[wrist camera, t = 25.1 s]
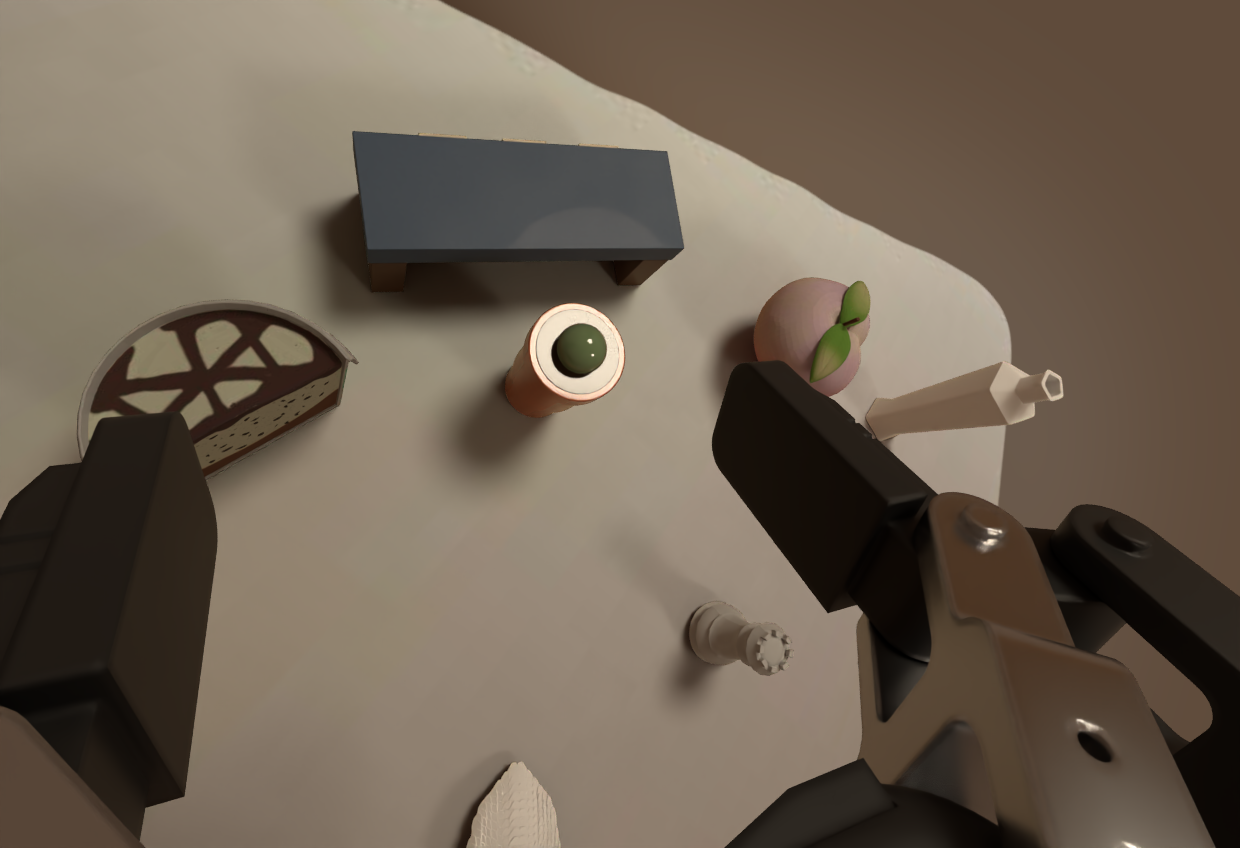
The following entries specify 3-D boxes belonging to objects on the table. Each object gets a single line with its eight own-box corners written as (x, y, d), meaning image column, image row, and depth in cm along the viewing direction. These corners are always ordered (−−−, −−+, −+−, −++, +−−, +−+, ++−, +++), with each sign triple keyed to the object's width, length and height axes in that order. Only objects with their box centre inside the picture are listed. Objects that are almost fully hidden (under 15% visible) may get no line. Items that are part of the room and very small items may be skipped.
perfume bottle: (890, 456, 55) (1063, 434, 41) (857, 424, 54) (1023, 390, 40) (911, 417, 56) (1084, 384, 43) (879, 386, 56) (1046, 341, 42)
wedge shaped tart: (305, 310, 39) (283, 245, 30) (362, 392, 39) (358, 352, 30) (94, 413, 34) (-10, 374, 25) (161, 504, 35) (84, 498, 26)
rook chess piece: (677, 616, 45) (736, 634, 38) (725, 590, 47) (790, 602, 40) (699, 673, 45) (762, 703, 38) (746, 645, 47) (815, 667, 40)
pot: (493, 424, 42) (535, 389, 31) (496, 344, 43) (538, 282, 32) (573, 429, 44) (639, 398, 33) (574, 352, 45) (639, 297, 34)
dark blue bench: (368, 292, 41) (367, 249, 34) (355, 189, 41) (351, 127, 35) (643, 285, 48) (684, 248, 42) (628, 197, 49) (666, 148, 42)
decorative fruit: (746, 282, 52) (826, 231, 43) (822, 328, 54) (913, 288, 45) (712, 380, 49) (789, 348, 40) (793, 424, 51) (884, 402, 42)
